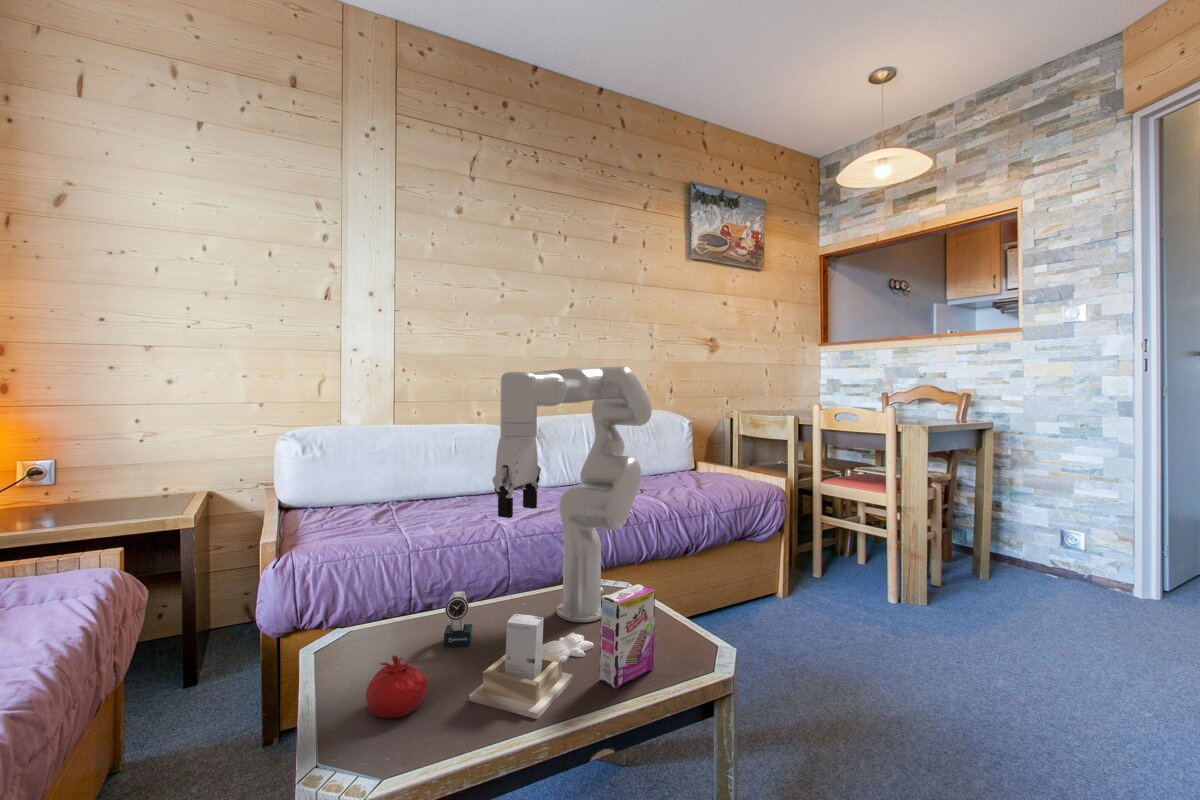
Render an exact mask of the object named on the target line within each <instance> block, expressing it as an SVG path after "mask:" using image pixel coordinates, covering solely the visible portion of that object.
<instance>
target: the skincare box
mask: <svg viewBox="0 0 1200 800" xmlns="http://www.w3.org/2000/svg"><path fill="white" fill-rule="evenodd" d="M505 635H506V636H505V654H506V659H505V674H508V675H512V676H516V677H520V678H524V679H529V680H534V679H535V678H536V677H537V676H538V675H539V674H541V673H542V646H543V645H544V643H543V639H544V617H541V616H537V615H536V616H535V615H531V614H520V613H514V614H513V615H512V616H511V617H510V618H509V619H508V620H507V622H506V634H505Z"/></svg>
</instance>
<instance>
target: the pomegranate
mask: <svg viewBox="0 0 1200 800" xmlns="http://www.w3.org/2000/svg"><path fill="white" fill-rule="evenodd" d="M402 660H403V657H399V656H398V655H396V654H395V655H392V656H391V661H393V663H388V662H379V664H380V665H381V666H383V667H382V668H380V669H379V670H378V671H377V672H376V673H375V674H374V675H373V677H372V679H371V680H370V681H369V683H368V685H367V687H366V690H365V692H366V693H365V699H366V704H367V708H368V710H369V712H370V713H371V714H372V715H375V716H377V717H379V718H384V719H385V718H387V719H388V718H389V719H390V718H395V719H397V718H402V717H405V716H407V715H409V714H411V713H413V712H414V711H415V710H416V709H417V708H418V707H419V706H420V705H421V703H422V702H423V700H424V698H425V696H426V693H427V690H428V679H427V677H426V675H425V674H424V673H422V670H420V669H419V668H418V667H416V666H413V665H410V663H412V662H419V659H418V660H416V659H415V660H409V661H406V662H405V663H401V661H402Z"/></svg>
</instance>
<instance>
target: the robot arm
mask: <svg viewBox="0 0 1200 800" xmlns="http://www.w3.org/2000/svg"><path fill="white" fill-rule="evenodd" d="M588 401H589V402H590V401H593V402H592V406H591V416H592V422H593V427H594V434H595V438H594V441H593V443H592V446H591V448H590V450H589V453H588V455H587V456H586V459H585V461H584V463H583V466H582V468H581V470H580V471H581V472H580V477H579V478H580V482H581V484H582V485H583V486H584V487H583V486H576V487H575V486H574V487H570V488H569V489H567V490H565V491H564V492H563V494H562V495H561V497H560V500H559V514H560V518H561V525H562V535H563V537H562V539H563V546H562V548H563V549H562V550H563V552H562V553H563V556H562V557H563V559H562V561H563V562H562V602H561V603H560V604H558V605H557V607H556V615H557V616H558V617H559V618H561V619H562V620H564V621H568V622H571V623H591V622H595V621H599V620H601V596H602V594H603V593H605V589H604V588H603V587H602V585H601V584H602V583H601V582H602V579H601V578H602V541H601V538H600V535H599V533H598V531H597V529H599V530H604V531H605V530H608V531H617V530H620V529H621V528H623V526H624V525H625V523H626V522H627V520H628V517H629V515H630V512H631V509H632V507H633V505H634V503H635V499H636V496H637V494H638V491H639V489H640V486H641V480H642V468H641V465H640V462H639V461H638V460H637V459H636V458H634V457H633V456H629V455H628V456H627V455H624V451H625V446H626V445H625V442H624V438H623V437H622V435H621V433H620V432H619V431H618V429H617V427H616V426H631V427H639V426H644V425H647V423H648V422H649V421H650V420H651V417H652V413H653V412H652V410H653V409H652V403H651V401H650V398H649V396H648V394H647V393H646V391H645V389H644V386H643V385H642V383H641V382H640V380H639V378H638V376H637V375H636V374H635V373H634V371H632V369H630V368H629V367H627V366H589V367H572V368H571V367H570V368H561V369H554V370H540V371H507V372H504V373H503V374H502V375H501V377H500V438H499V440H498V444H497V450H496V457H495V458H496V459H495V460H496V461H495V475H494V476H493V478H492V483H493V486H494V487H493V488H494V491H495V493H496V495H495V497H497V516H498V517H499V518H506V519H511V518H512V519H513V516H514V498H513V497H512V495H513V492H514V491H515V488H518V487H522V486H523V487H524V488H523V489H522V507H523V508H525V509H534V510H536V509H537V508H538V489H539V482H540V475H541V471H542V467H541V466H539V465H538V462H539V461H538V460H539V459H538V458H539V457H538V445H537V438H538V437H537V435H538V434H537V431H538V430H537V428H538V423H537V421H538V419H537V418H538V413H537V412H538V407H554V406H558V405H560V404H576V403H578V404H579V403H584V402H588ZM598 619H599V620H598Z"/></svg>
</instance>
